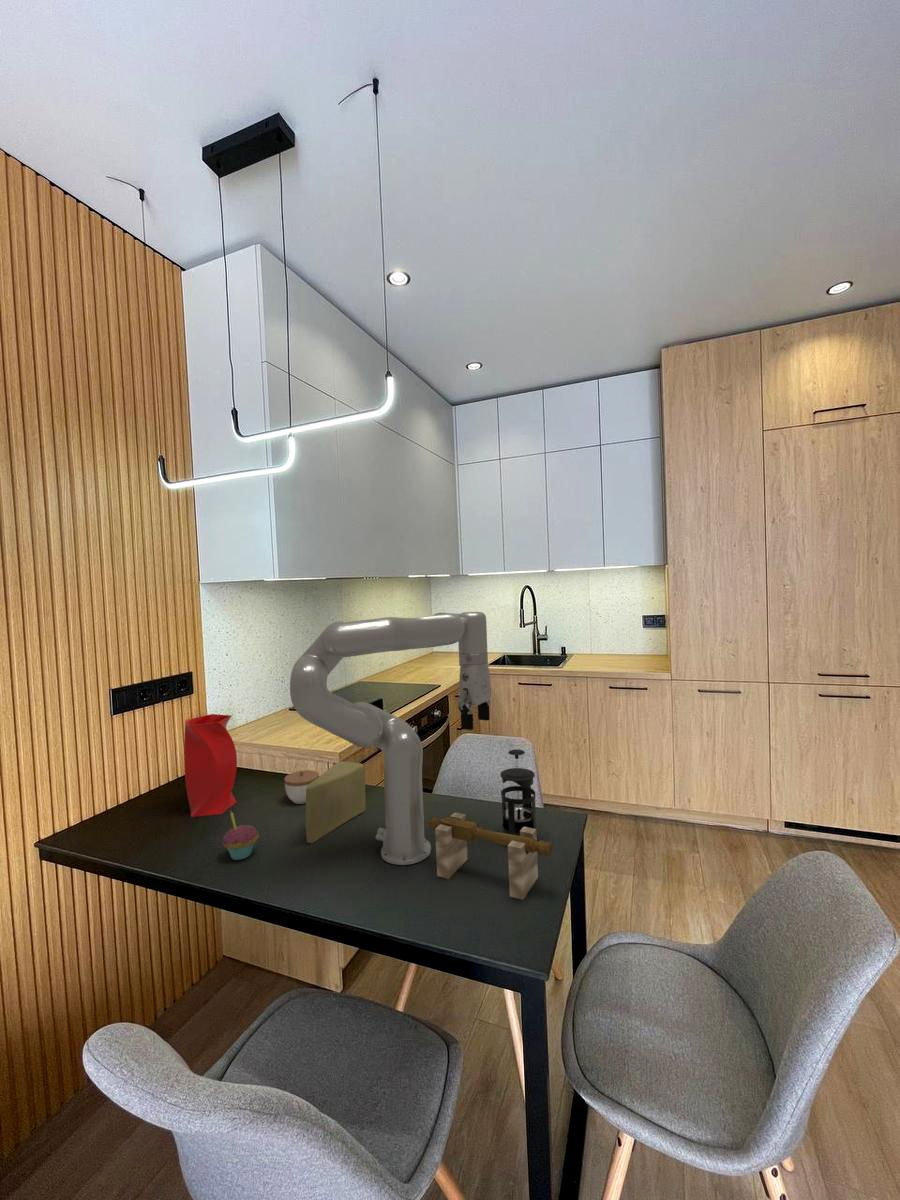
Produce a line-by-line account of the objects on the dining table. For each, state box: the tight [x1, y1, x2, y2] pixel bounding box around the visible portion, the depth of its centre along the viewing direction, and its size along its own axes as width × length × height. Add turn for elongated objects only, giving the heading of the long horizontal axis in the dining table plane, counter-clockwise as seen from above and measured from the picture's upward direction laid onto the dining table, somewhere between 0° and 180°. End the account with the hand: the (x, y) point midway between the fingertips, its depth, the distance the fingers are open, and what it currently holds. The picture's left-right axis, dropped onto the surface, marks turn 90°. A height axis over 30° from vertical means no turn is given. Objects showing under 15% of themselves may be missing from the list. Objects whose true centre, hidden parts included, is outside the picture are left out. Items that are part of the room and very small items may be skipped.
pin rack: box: [434, 812, 539, 901], centre depth 116 cm, size 21×9×11 cm, turn 61°
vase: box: [183, 713, 238, 818], centre depth 159 cm, size 15×14×28 cm
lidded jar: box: [283, 769, 320, 805], centre depth 163 cm, size 11×11×9 cm
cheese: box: [304, 761, 366, 844], centre depth 144 cm, size 22×10×15 cm, turn 159°
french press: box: [500, 749, 539, 841], centre depth 133 cm, size 12×9×23 cm
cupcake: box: [221, 810, 260, 861], centre depth 130 cm, size 9×8×12 cm
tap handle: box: [428, 816, 552, 857], centre depth 116 cm, size 3×3×30 cm
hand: (475, 724), depth 133 cm, fingers open, 9 cm apart
